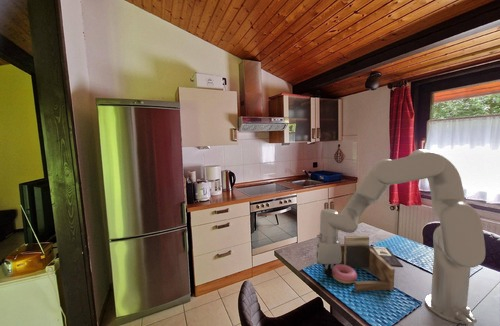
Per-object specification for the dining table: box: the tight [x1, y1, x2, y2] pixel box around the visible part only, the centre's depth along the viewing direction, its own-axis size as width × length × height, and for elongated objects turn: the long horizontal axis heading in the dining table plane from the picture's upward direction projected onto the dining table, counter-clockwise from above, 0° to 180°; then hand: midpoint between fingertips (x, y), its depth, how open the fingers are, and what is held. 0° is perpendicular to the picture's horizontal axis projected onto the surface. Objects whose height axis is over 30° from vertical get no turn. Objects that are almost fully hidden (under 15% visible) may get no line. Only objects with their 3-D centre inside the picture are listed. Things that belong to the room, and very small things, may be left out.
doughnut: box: [331, 263, 358, 285], centre depth 97 cm, size 11×11×4 cm
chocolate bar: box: [369, 245, 404, 268], centre depth 113 cm, size 9×1×18 cm
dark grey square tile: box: [346, 244, 370, 269], centre depth 104 cm, size 1×11×11 cm, turn 90°
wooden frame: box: [340, 234, 396, 292], centre depth 99 cm, size 22×16×15 cm
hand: (328, 275), depth 97 cm, fingers closed
